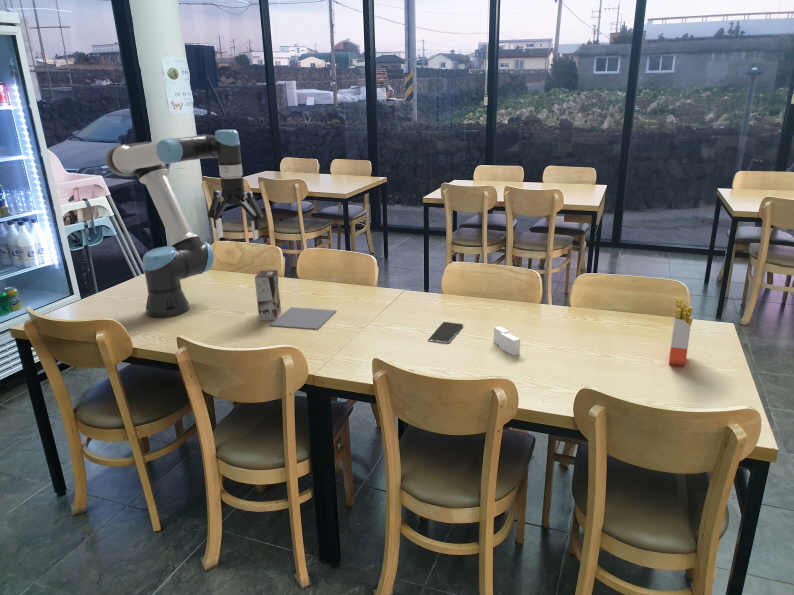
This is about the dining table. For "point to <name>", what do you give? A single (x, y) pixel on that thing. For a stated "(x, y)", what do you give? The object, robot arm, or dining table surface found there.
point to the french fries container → (680, 334)
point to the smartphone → (445, 332)
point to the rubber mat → (303, 318)
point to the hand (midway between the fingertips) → (238, 238)
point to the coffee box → (268, 295)
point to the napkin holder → (506, 341)
